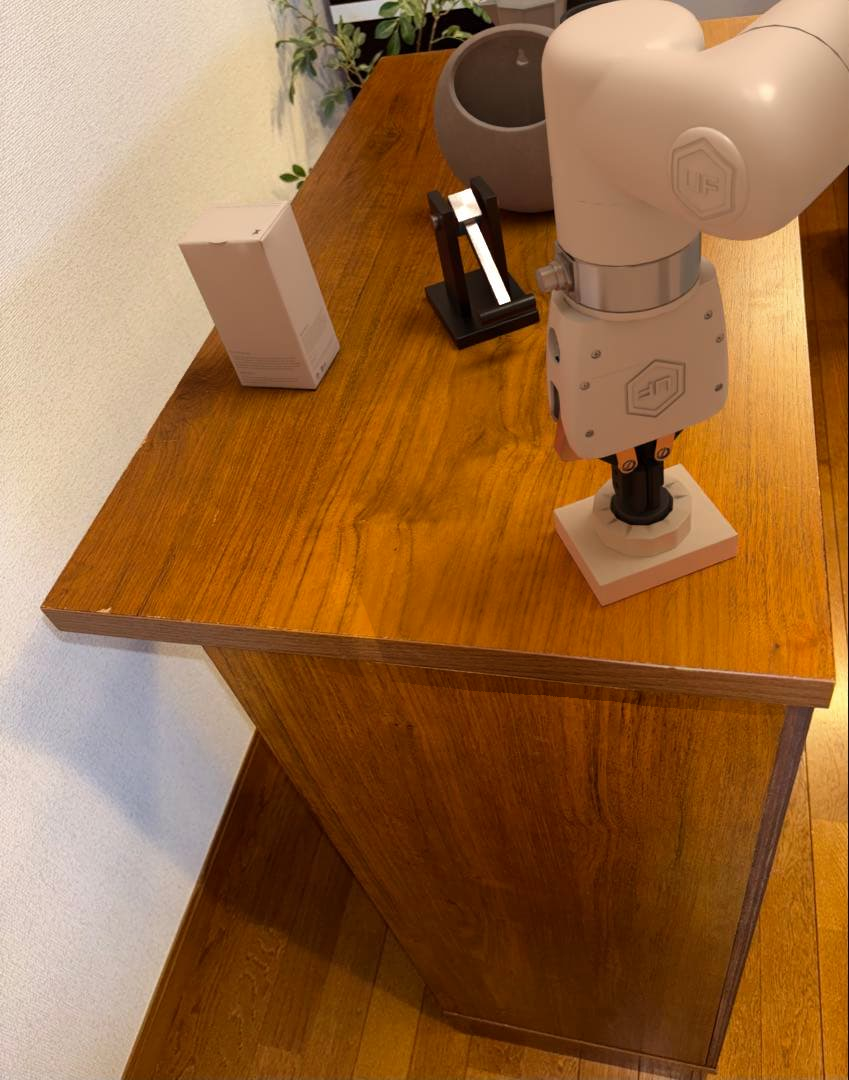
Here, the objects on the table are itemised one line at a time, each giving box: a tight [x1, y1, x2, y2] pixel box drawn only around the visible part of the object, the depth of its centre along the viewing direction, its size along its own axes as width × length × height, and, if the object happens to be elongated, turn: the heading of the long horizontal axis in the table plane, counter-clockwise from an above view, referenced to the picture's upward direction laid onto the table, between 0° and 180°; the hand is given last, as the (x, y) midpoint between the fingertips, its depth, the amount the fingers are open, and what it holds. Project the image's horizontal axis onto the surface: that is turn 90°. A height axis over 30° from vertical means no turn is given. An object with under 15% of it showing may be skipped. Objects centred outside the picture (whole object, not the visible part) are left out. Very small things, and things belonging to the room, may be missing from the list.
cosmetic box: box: [177, 200, 341, 390], centre depth 87 cm, size 8×7×16 cm
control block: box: [553, 463, 739, 607], centre depth 68 cm, size 10×8×4 cm
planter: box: [433, 23, 555, 214], centre depth 97 cm, size 18×7×19 cm, turn 72°
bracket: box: [424, 176, 541, 350], centre depth 89 cm, size 10×8×12 cm
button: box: [614, 486, 669, 526], centre depth 67 cm, size 4×4×2 cm
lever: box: [446, 188, 538, 327], centre depth 85 cm, size 12×5×2 cm, turn 18°
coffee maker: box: [477, 0, 598, 63], centre depth 111 cm, size 15×9×18 cm, turn 73°
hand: (638, 497), depth 66 cm, fingers closed
